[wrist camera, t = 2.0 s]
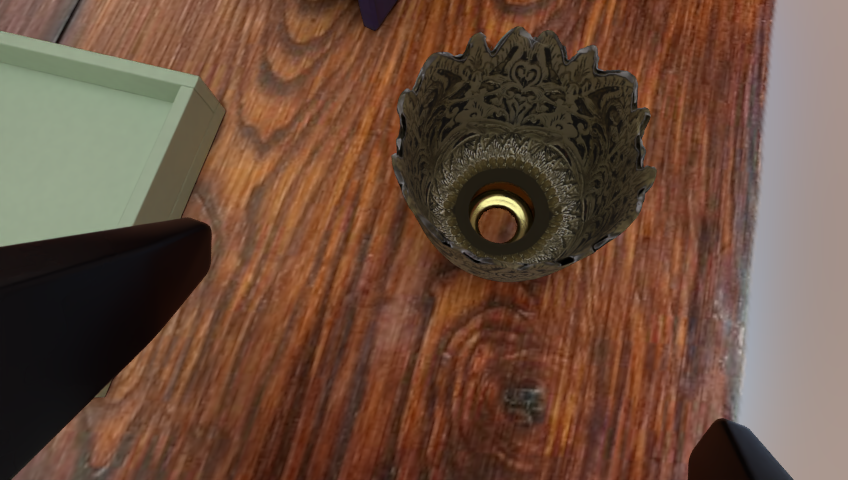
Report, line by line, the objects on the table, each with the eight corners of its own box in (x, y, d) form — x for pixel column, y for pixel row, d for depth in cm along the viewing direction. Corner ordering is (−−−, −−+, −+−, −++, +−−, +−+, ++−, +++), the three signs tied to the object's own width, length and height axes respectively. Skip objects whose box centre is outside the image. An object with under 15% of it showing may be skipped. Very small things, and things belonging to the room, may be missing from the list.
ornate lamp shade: (583, 323, 21) (661, 280, 14) (400, 304, 22) (374, 252, 14) (588, 153, 23) (658, 32, 16) (420, 139, 24) (408, 15, 16)
